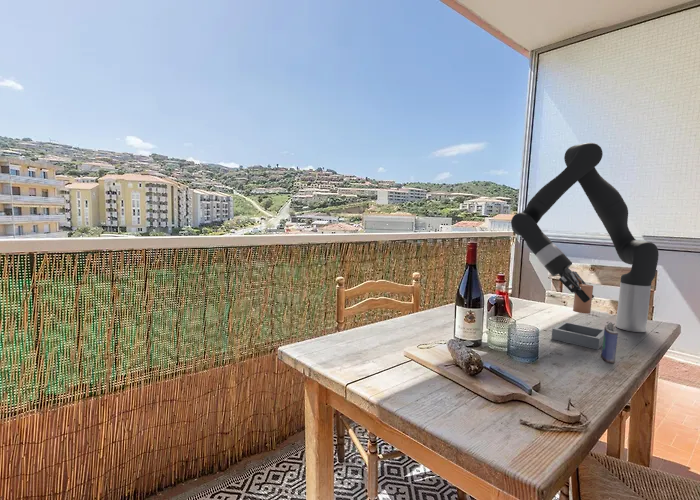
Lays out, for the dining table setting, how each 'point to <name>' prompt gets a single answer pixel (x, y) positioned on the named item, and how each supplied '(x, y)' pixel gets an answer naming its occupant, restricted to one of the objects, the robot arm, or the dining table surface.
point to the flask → (609, 343)
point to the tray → (579, 335)
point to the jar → (579, 304)
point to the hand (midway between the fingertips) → (589, 299)
